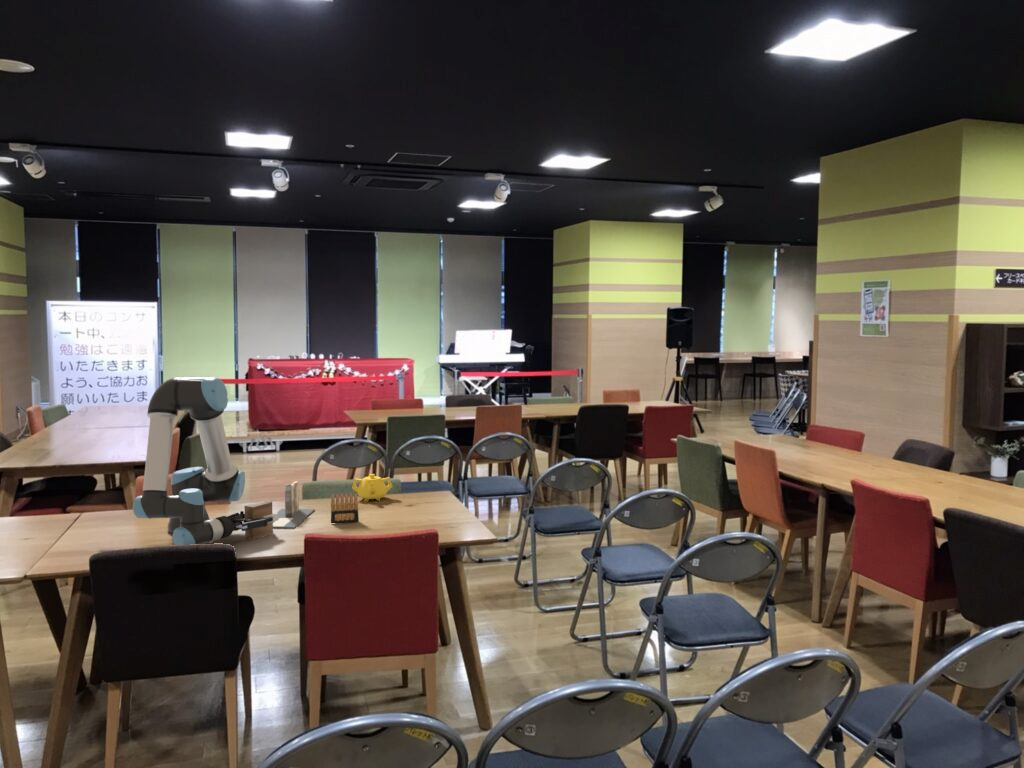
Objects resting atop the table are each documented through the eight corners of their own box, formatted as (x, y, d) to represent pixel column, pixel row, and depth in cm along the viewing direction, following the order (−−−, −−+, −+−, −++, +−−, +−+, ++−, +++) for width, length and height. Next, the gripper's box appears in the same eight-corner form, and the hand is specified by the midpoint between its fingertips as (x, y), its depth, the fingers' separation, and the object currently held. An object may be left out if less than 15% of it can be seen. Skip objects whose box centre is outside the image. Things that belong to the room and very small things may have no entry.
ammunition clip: (358, 521, 303) (357, 491, 302) (358, 522, 301) (358, 492, 300) (330, 523, 300) (330, 493, 299) (331, 524, 298) (330, 494, 297)
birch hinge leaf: (290, 517, 306) (290, 485, 305) (284, 517, 306) (283, 485, 305) (300, 509, 318) (299, 479, 317) (294, 509, 318) (293, 479, 317)
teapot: (352, 494, 348) (352, 470, 347) (392, 493, 351) (391, 469, 350) (351, 505, 328) (350, 479, 327) (393, 503, 332) (393, 478, 331)
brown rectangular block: (245, 537, 280) (244, 505, 279) (267, 531, 289) (266, 500, 288) (253, 539, 278) (252, 507, 277) (275, 532, 287) (274, 501, 286)
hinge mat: (294, 528, 292) (294, 526, 292) (257, 528, 293) (257, 526, 293) (314, 510, 320) (314, 508, 320) (281, 510, 320) (281, 508, 320)
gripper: (197, 534, 273) (249, 520, 292) (238, 544, 262) (289, 528, 280) (196, 513, 272) (248, 501, 291) (237, 522, 261) (288, 508, 280)
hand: (268, 514), depth 286 cm, fingers open, 9 cm apart
